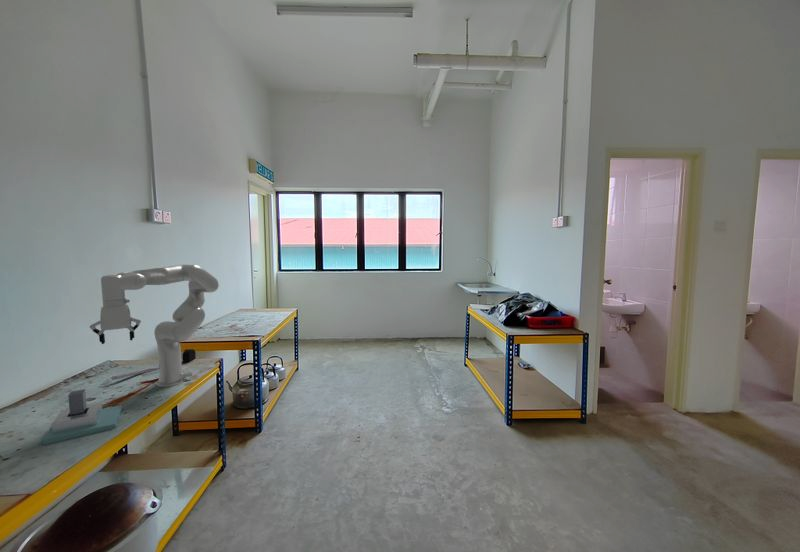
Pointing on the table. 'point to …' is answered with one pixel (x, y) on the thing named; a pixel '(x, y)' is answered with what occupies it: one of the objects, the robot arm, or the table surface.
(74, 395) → the key pin
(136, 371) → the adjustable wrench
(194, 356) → the tape measure
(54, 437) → the chuck block
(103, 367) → the table surface
